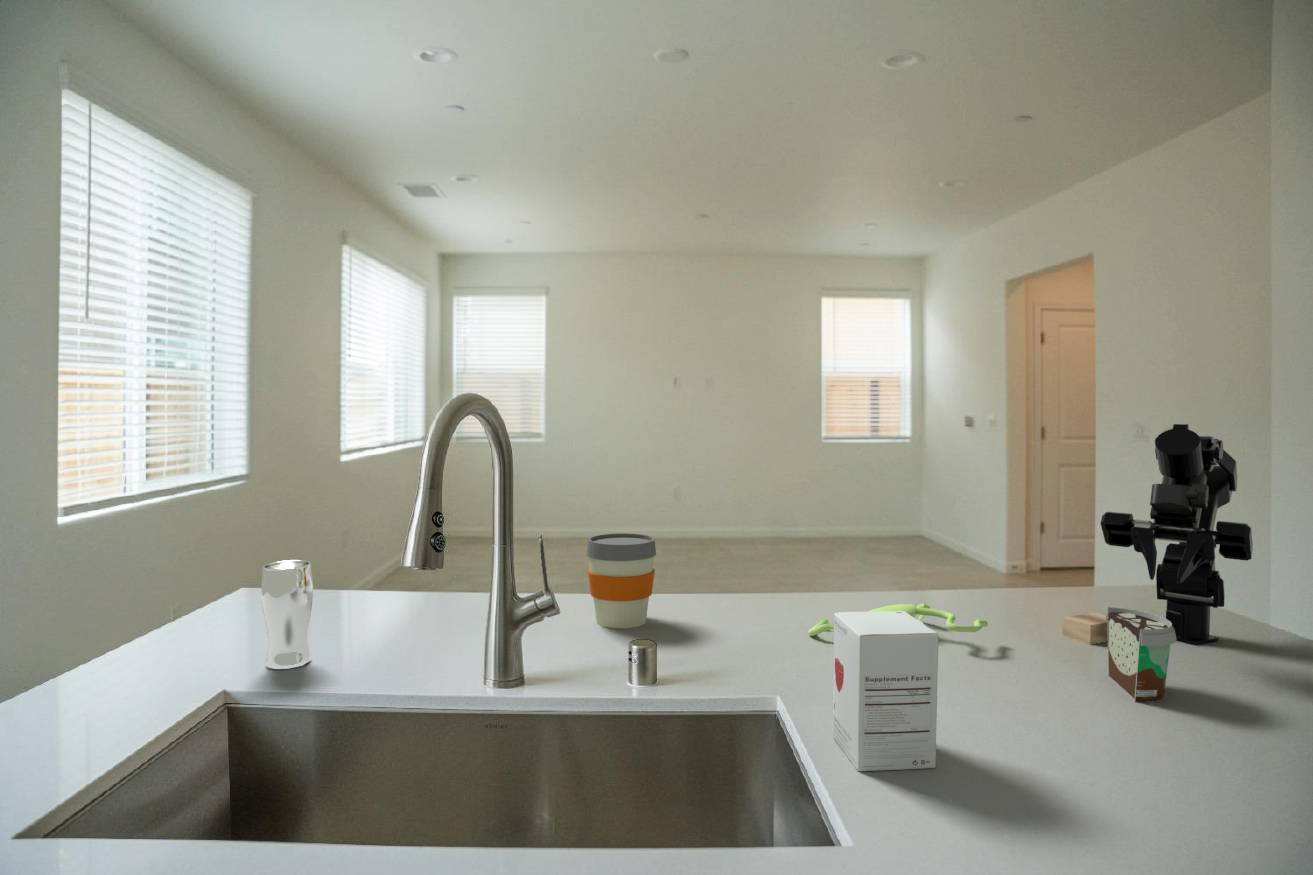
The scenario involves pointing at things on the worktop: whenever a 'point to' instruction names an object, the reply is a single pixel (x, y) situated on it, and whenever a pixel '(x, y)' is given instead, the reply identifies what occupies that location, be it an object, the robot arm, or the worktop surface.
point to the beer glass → (287, 610)
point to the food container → (1139, 652)
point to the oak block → (1086, 628)
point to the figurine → (912, 610)
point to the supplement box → (885, 690)
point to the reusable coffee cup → (621, 578)
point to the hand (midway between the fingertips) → (1164, 579)
